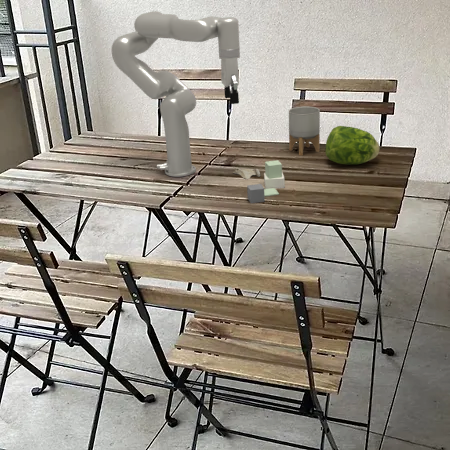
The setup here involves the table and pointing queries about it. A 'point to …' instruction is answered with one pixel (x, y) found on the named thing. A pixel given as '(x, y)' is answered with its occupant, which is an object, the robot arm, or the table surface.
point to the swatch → (270, 192)
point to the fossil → (246, 172)
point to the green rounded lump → (351, 146)
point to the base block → (274, 182)
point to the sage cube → (273, 169)
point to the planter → (304, 127)
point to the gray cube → (255, 193)
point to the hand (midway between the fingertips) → (231, 100)
